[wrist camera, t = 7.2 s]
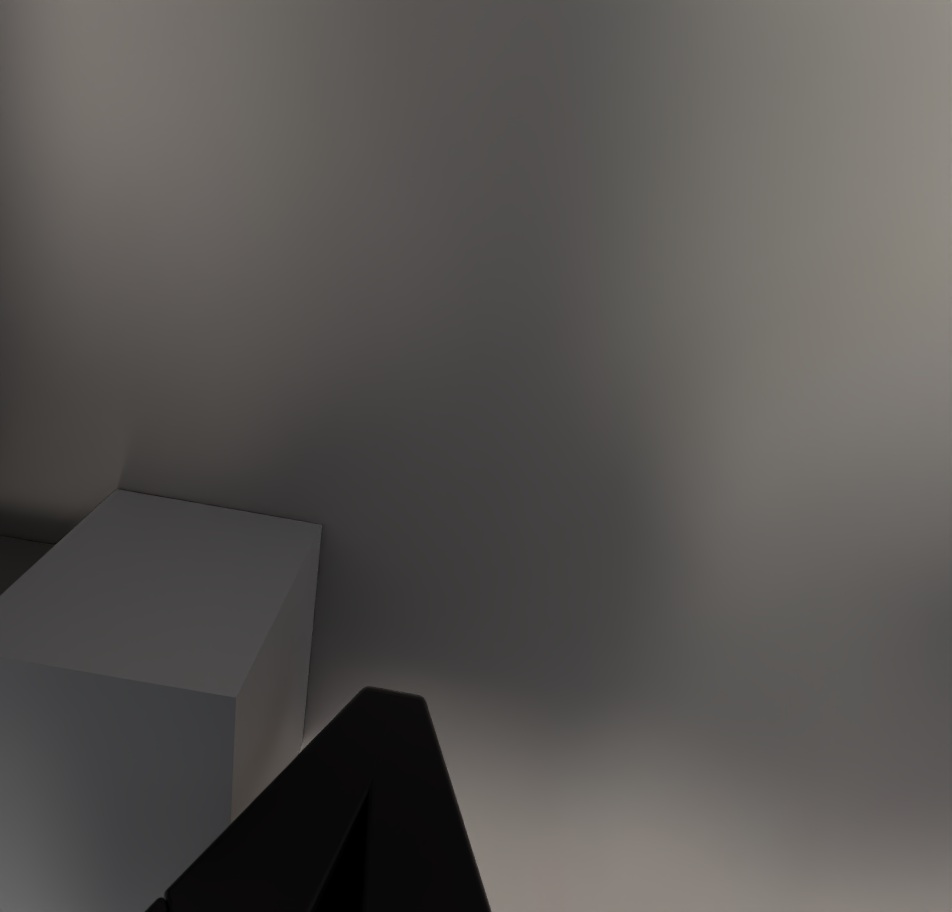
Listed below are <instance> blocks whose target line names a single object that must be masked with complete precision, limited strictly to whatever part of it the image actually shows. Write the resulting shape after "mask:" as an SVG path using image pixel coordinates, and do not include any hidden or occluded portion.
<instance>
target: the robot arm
mask: <svg viewBox="0 0 952 912" xmlns="http://www.w3.org/2000/svg"><path fill="white" fill-rule="evenodd" d="M145 912H491V908H490V905H489V902H488V899H487V896H486V892H485V889H484V886H483V883H482V880H481V876H480V873H479V870H478V867H477V864H476V860H475V857H474V854H473V851H472V847H471V844H470V841H469V838H468V835H467V831H466V828H465V825H464V822H463V819H462V815H461V812H460V809H459V806H458V803H457V799H456V796H455V793H454V790H453V786H452V783H451V780H450V777H449V774H448V770H447V767H446V764H445V761H444V758H443V754H442V751H441V748H440V745H439V741H438V738H437V735H436V732H435V729H434V725H433V722H432V719H431V716H430V713H429V709H428V706H427V703H426V701H425V699H424V698H423V697H422V696H420V695H415V694H409V693H404V692H399V691H393V690H388V689H383V688H377V687H372V686H367V687H365V688H363V689H362V690H361V691H360V692H359V693H358V694H357V695H356V696H355V697H354V698H353V699H352V700H351V701H350V702H349V703H348V704H347V705H346V706H345V707H344V708H343V709H342V710H341V711H340V712H339V713H338V714H337V715H336V716H335V717H334V718H333V720H332V721H331V722H330V723H329V724H328V725H327V726H326V727H325V728H324V729H323V730H322V731H321V732H320V733H319V734H318V735H317V736H316V737H315V738H314V739H313V740H312V741H311V742H310V743H309V744H308V745H307V746H306V747H305V748H304V749H303V750H302V751H301V752H300V753H299V754H298V755H297V756H296V757H295V758H294V759H293V760H292V762H291V763H290V764H289V765H288V766H287V767H286V768H285V769H284V770H283V771H282V772H281V773H280V774H279V775H278V776H277V777H276V778H275V779H274V780H273V781H272V782H271V783H270V784H269V785H268V786H267V787H266V788H265V789H264V790H263V791H262V792H261V793H260V794H259V795H258V796H257V797H256V798H255V799H254V800H253V801H252V802H251V804H250V805H249V806H248V807H247V808H246V809H245V810H244V811H243V812H242V813H241V814H240V815H239V816H238V817H237V818H236V819H235V820H234V821H233V822H232V823H231V824H230V825H229V826H228V827H227V828H226V829H225V830H224V831H223V832H222V833H221V834H220V835H219V836H218V837H217V838H216V839H215V840H214V841H213V842H212V843H211V844H210V846H209V847H208V848H207V849H206V850H205V851H204V852H203V853H202V854H201V855H200V856H199V857H198V858H197V859H196V860H195V861H194V862H193V863H192V864H191V865H190V866H189V867H188V868H187V869H186V870H185V871H184V872H183V873H182V874H181V875H180V876H179V877H178V878H177V879H176V880H175V881H174V882H173V883H172V884H171V885H170V886H169V887H168V889H167V890H166V891H165V892H164V898H162V897H159V898H157V899H156V900H155V901H154V902H153V903H152V904H151V905H150V906H149V907H148V909H147V910H146V911H145Z"/></svg>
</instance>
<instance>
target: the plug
mask: <svg viewBox="0 0 952 912" xmlns="http://www.w3.org/2000/svg"><path fill="white" fill-rule="evenodd" d="M321 532H322V525H321V524H315V523H309V522H303V521H298V520H292V519H286V518H280V517H274V516H269V515H263V514H257V513H251V512H245V511H240V510H234V509H228V508H222V507H217V506H211V505H205V504H199V503H193V502H188V501H182V500H176V499H170V498H164V497H159V496H153V495H147V494H141V493H136V492H130V491H124V490H118V489H116V490H115V491H113V492H112V493H111V494H110V495H109V496H108V497H107V498H106V499H105V500H104V501H103V502H102V503H100V504H99V505H98V506H97V507H96V508H95V509H94V510H93V511H92V512H91V513H90V514H88V515H87V516H86V517H85V518H84V519H83V520H82V521H81V522H80V523H79V524H78V525H77V526H75V527H74V528H73V529H72V530H71V531H70V532H69V533H68V534H67V535H66V536H65V537H63V538H62V539H61V540H60V541H59V542H58V543H57V544H56V545H51V544H45V543H40V542H34V541H28V540H22V539H16V538H11V537H5V536H0V912H145V911H146V910H147V909H148V907H149V906H150V905H151V904H152V903H153V902H154V901H155V900H156V899H157V898H159V897H162V898H164V892H165V891H166V890H167V889H168V887H169V886H170V885H171V884H172V883H173V882H174V881H175V880H176V879H177V878H178V877H179V876H180V875H181V874H182V873H183V872H184V871H185V870H186V869H187V868H188V867H189V866H190V865H191V864H192V863H193V862H194V861H195V860H196V859H197V858H198V857H199V856H200V855H201V854H202V853H203V852H204V851H205V850H206V849H207V848H208V847H209V846H210V844H211V843H212V842H213V841H214V840H215V839H216V838H217V837H218V836H219V835H220V834H221V833H222V832H223V831H224V830H225V829H226V828H227V827H228V826H229V825H230V824H231V823H232V822H233V821H234V820H235V819H236V818H237V817H238V816H239V815H240V814H241V813H242V812H243V811H244V810H245V809H246V808H247V807H248V806H249V805H250V804H251V802H252V801H253V800H254V799H255V798H256V797H257V796H258V795H259V794H260V793H261V792H262V791H263V790H264V789H265V788H266V787H267V786H268V785H269V784H270V783H271V782H272V781H273V780H274V779H275V778H276V777H277V776H278V775H279V774H280V773H281V772H282V771H283V770H284V769H285V768H286V767H287V766H288V765H289V764H290V763H291V762H292V760H293V759H294V758H295V757H296V756H297V755H298V753H299V750H300V747H301V745H302V741H303V730H304V719H305V708H306V697H307V686H308V675H309V664H310V653H311V642H312V631H313V620H314V609H315V598H316V587H317V576H318V565H319V554H320V543H321Z"/></svg>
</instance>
